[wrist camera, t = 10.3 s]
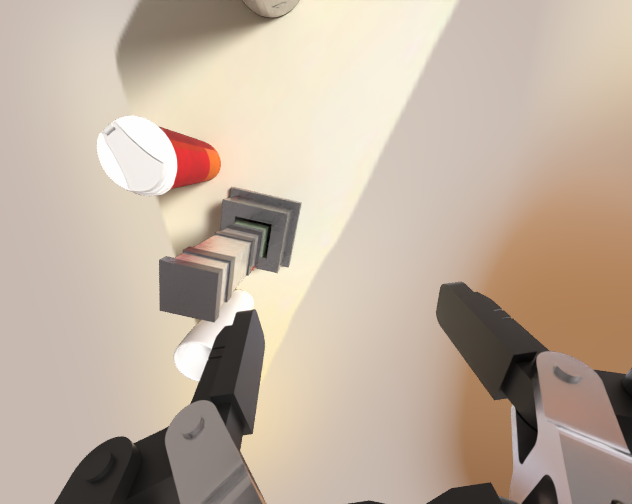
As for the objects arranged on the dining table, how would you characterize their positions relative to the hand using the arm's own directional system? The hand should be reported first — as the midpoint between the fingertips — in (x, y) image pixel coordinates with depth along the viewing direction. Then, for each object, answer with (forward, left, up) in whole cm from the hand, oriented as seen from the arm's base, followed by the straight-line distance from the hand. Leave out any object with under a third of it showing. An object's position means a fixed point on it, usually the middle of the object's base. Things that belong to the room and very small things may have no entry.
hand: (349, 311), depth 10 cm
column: (-4, -12, -24) cm, 27 cm away
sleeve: (-4, -12, -29) cm, 31 cm away
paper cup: (-17, -14, -29) cm, 36 cm away
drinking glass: (+5, -24, -29) cm, 38 cm away
